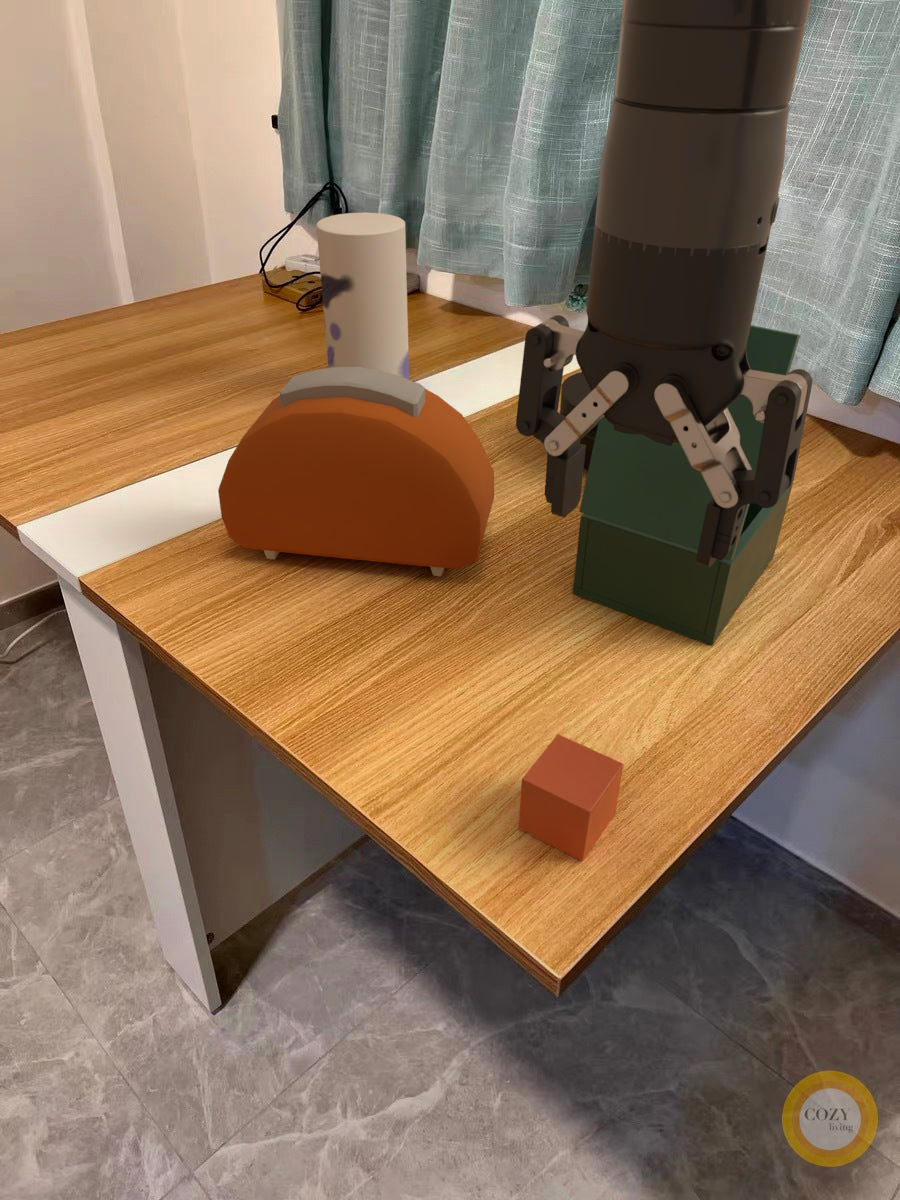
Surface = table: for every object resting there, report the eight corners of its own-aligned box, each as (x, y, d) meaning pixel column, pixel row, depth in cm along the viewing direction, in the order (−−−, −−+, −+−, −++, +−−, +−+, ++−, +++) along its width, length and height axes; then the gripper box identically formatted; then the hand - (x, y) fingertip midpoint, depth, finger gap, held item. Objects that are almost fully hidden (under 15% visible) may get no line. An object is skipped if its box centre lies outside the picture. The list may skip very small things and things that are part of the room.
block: (615, 813, 57) (624, 763, 54) (582, 862, 54) (590, 812, 51) (552, 782, 59) (558, 733, 56) (517, 828, 56) (521, 778, 53)
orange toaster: (493, 532, 85) (500, 363, 75) (480, 585, 77) (485, 407, 68) (259, 510, 88) (235, 345, 78) (225, 559, 81) (194, 385, 71)
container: (314, 388, 112) (298, 220, 100) (375, 367, 118) (367, 206, 106) (363, 412, 106) (352, 237, 94) (425, 390, 112) (423, 222, 100)
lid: (629, 300, 65) (600, 300, 61) (800, 334, 60) (782, 336, 56) (582, 510, 72) (554, 522, 68) (733, 559, 66) (712, 575, 62)
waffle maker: (619, 417, 108) (622, 357, 104) (734, 467, 95) (742, 401, 91) (523, 450, 102) (523, 388, 97) (632, 508, 89) (636, 439, 85)
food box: (646, 516, 87) (657, 444, 82) (773, 556, 81) (793, 481, 77) (572, 593, 77) (580, 516, 72) (712, 645, 71) (730, 565, 66)
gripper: (498, 211, 39) (487, 524, 49) (822, 265, 33) (736, 613, 42) (578, 183, 44) (554, 471, 54) (873, 224, 38) (786, 544, 47)
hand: (634, 533), depth 48 cm, fingers open, 8 cm apart
